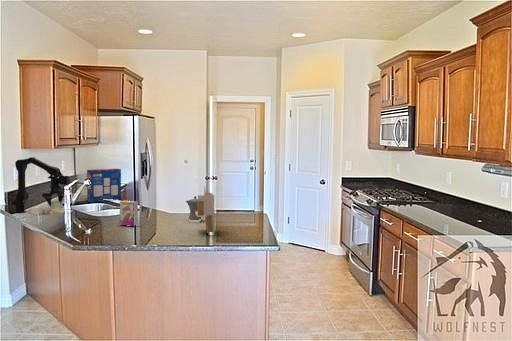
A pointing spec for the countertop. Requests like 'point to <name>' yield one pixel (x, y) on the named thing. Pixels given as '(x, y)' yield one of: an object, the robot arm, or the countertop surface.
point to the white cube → (36, 210)
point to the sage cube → (55, 205)
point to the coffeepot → (193, 208)
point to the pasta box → (104, 184)
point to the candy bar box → (128, 213)
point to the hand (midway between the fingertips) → (55, 205)
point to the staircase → (206, 210)
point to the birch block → (54, 211)
